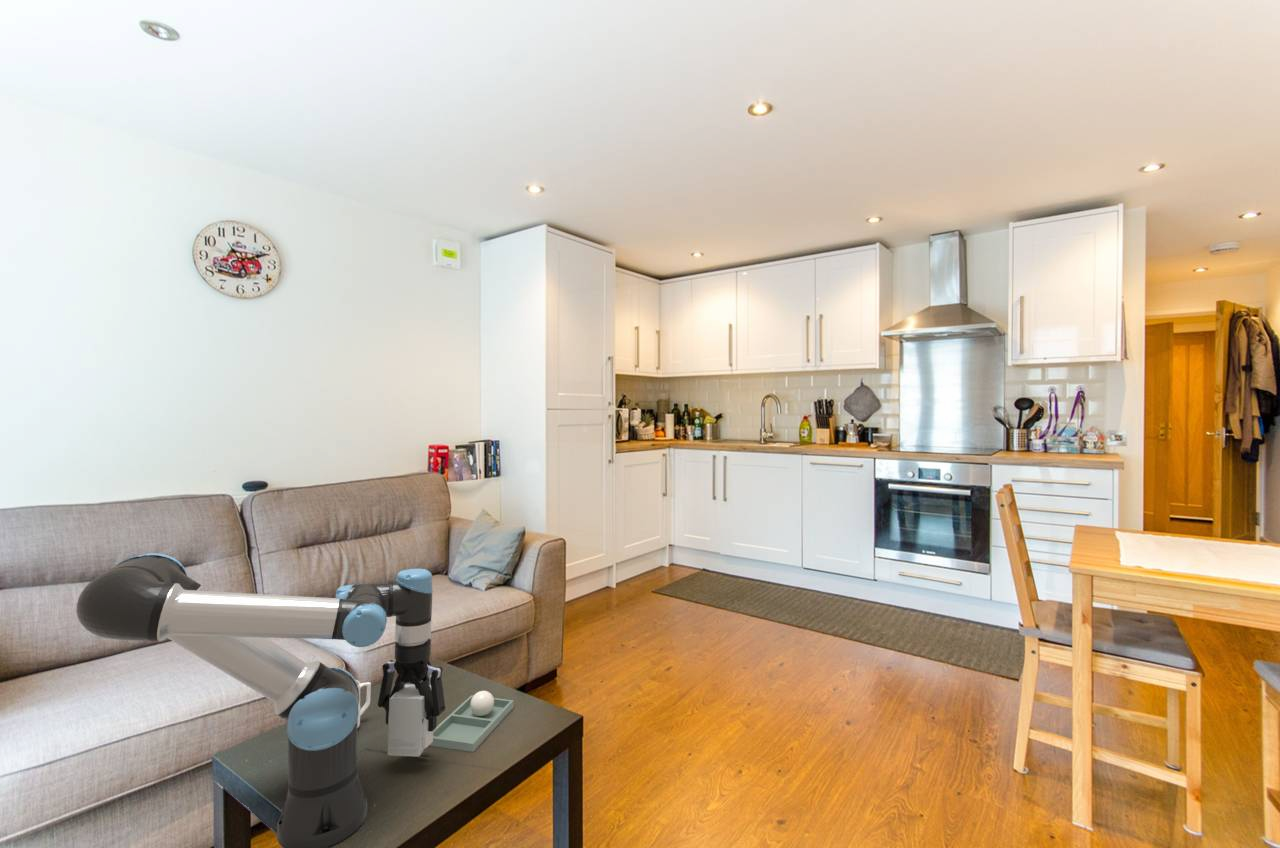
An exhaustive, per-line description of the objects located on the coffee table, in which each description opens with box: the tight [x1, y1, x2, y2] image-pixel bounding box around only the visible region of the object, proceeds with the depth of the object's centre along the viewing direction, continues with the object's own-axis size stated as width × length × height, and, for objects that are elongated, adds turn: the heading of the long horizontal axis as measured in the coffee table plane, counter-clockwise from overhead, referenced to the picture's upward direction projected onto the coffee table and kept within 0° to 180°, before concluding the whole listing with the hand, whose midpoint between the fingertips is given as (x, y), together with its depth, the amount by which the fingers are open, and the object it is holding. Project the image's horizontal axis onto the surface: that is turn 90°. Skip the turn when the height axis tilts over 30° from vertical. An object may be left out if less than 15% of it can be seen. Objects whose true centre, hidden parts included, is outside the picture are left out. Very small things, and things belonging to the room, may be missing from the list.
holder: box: [428, 694, 515, 753], centre depth 146 cm, size 21×12×2 cm, turn 167°
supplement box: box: [387, 683, 431, 757], centre depth 130 cm, size 7×7×13 cm
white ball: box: [470, 690, 495, 716], centre depth 151 cm, size 6×6×6 cm
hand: (410, 741), depth 130 cm, fingers closed on supplement box, 8 cm apart
